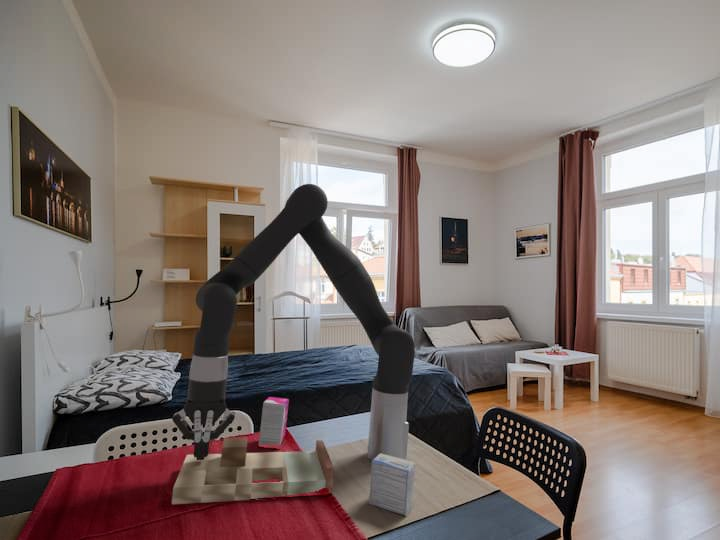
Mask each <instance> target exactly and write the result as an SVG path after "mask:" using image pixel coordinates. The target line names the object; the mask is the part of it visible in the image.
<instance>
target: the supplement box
mask: <svg viewBox="0 0 720 540" xmlns="http://www.w3.org/2000/svg"><path fill="white" fill-rule="evenodd" d="M289 403H290V399H289V398H284V397H283V398H282V397H275V396H269V397H267V398H266V399H265V400H264V401H263V403H262V404H263V405H262V411H261V412H262V413H261V420H260V421H261V422H260V429H259V438H258V445H259V444H265V445H266V444H267V445H273V444H276V445H280V444H281V442H282V440H283V438H284V436H286V430H287V420H288V410H289Z"/></svg>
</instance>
